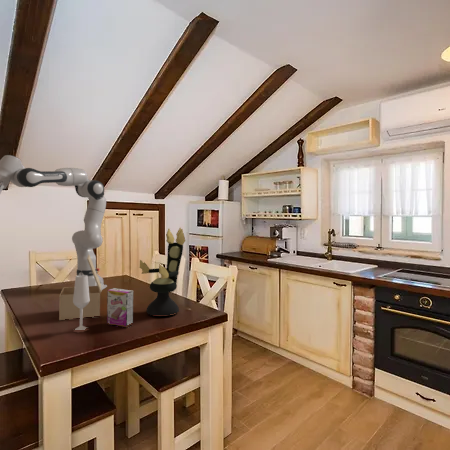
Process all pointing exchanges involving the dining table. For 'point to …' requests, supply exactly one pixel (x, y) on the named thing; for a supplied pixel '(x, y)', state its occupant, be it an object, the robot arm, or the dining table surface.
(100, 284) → the carton flap
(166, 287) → the black and tan chair
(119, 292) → the candy bar box
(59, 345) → the dining table surface
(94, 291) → the carton
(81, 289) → the champagne flute
